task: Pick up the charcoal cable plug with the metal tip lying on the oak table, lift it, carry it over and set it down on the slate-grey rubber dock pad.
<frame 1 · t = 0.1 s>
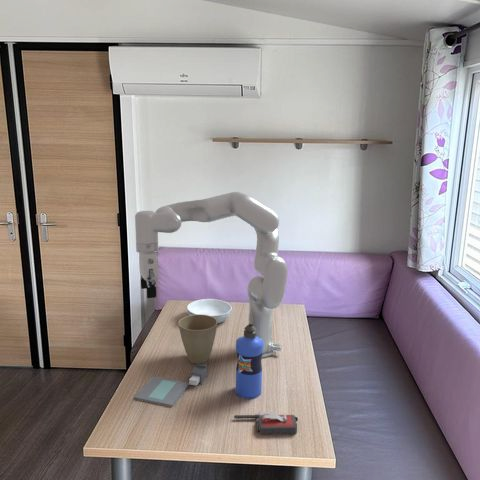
hand: (148, 292, 166), 31 cm above the table, tool pointing down, fingers open, 9 cm apart
usb plug: (198, 380, 168), on the table
dock pad: (162, 391, 161), on the table
serving bowl: (209, 320, 219), on the table
water bottle: (248, 391, 162), on the table
plant pot: (198, 359, 183), on the table
walkie-talkie: (266, 427, 144), on the table
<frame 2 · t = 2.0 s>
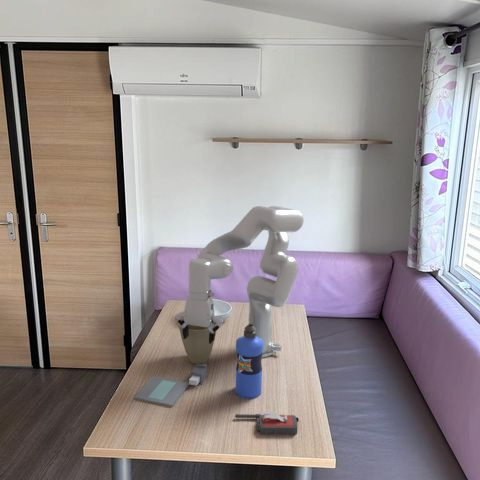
hand: (198, 339, 165), 16 cm above the table, tool pointing down, fingers open, 9 cm apart
nothing on the table moved.
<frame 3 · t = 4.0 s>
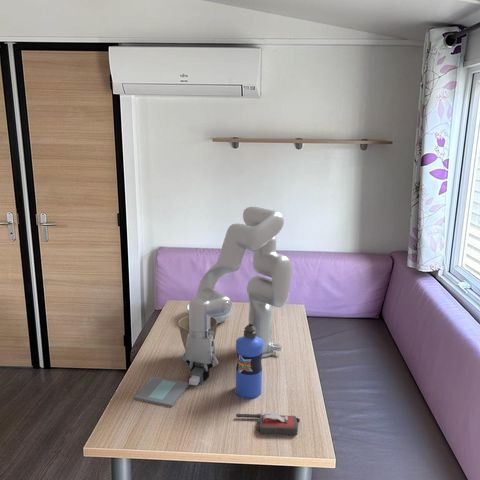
hand: (199, 377, 169), 1 cm above the table, tool pointing down, fingers closed on usb plug, 4 cm apart
usb plug: (198, 380, 168), on the table, touching gripper
everything else where it was.
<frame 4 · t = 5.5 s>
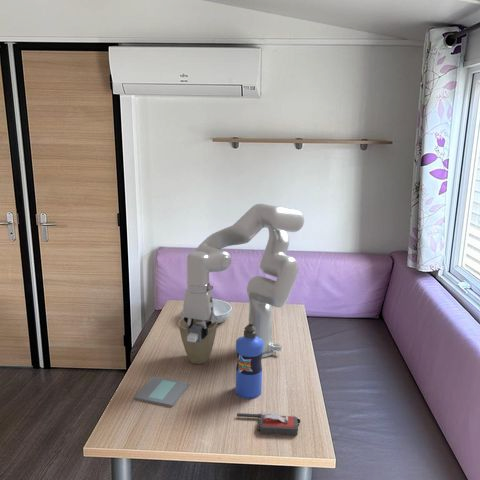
hand: (198, 335, 164), 17 cm above the table, tool pointing down, fingers closed on usb plug, 4 cm apart
usb plug: (197, 338, 164), point 17 cm above the table, touching gripper
everything else where it was.
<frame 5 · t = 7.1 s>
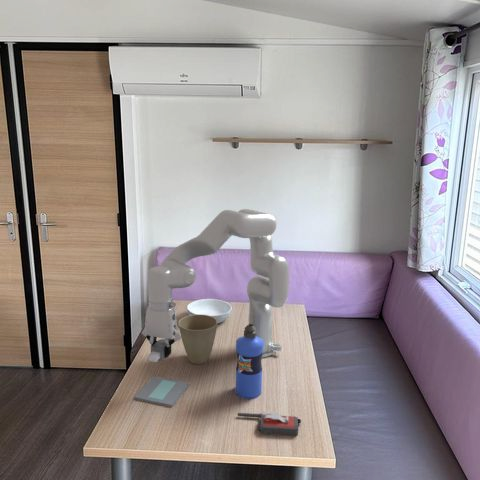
hand: (161, 354, 157), 14 cm above the table, tool pointing down, fingers closed on usb plug, 4 cm apart
usb plug: (159, 357, 156), point 14 cm above the table, touching gripper
everything else where it was.
when the fingers open (3 cm above the table, at t = 9.3 s): usb plug drops 1 cm, resting on dock pad.
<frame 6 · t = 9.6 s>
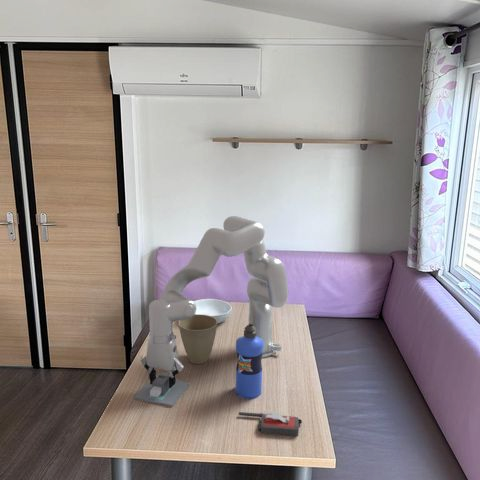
hand: (162, 383, 160), 3 cm above the table, tool pointing down, fingers open, 6 cm apart
usb plug: (161, 390, 159), point 1 cm above the table, touching dock pad
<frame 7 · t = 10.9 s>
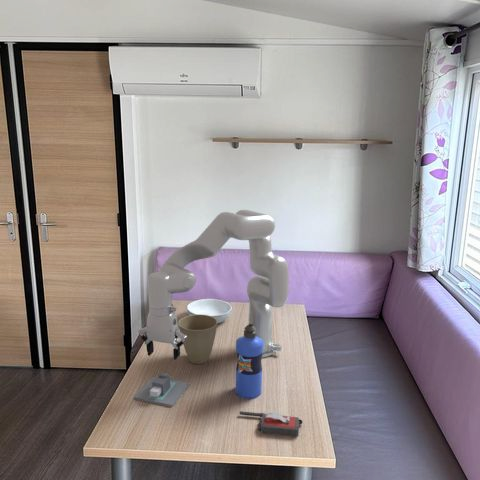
hand: (163, 355, 158), 14 cm above the table, tool pointing down, fingers open, 9 cm apart
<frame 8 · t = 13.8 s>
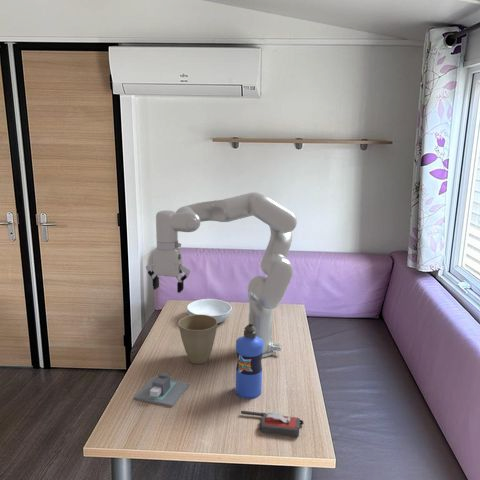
hand: (168, 289, 171), 30 cm above the table, tool pointing down, fingers open, 9 cm apart
at the end: usb plug inside the target area on the dock pad (0.9 cm from its centre), point 0.9 cm above the dock pad's base; usb plug tilted 0°; the gripper is holding nothing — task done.
